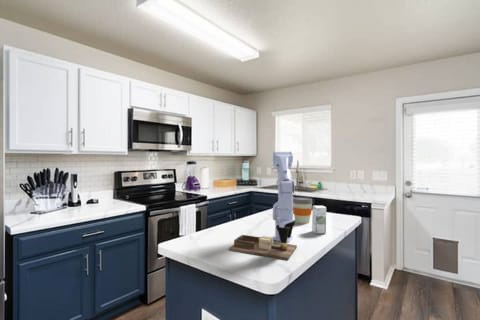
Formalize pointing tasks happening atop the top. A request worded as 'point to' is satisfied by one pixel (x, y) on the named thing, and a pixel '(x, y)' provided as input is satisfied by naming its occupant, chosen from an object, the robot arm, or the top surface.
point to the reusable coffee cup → (302, 209)
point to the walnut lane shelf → (252, 247)
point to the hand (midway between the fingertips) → (285, 240)
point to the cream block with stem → (270, 243)
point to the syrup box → (319, 220)
